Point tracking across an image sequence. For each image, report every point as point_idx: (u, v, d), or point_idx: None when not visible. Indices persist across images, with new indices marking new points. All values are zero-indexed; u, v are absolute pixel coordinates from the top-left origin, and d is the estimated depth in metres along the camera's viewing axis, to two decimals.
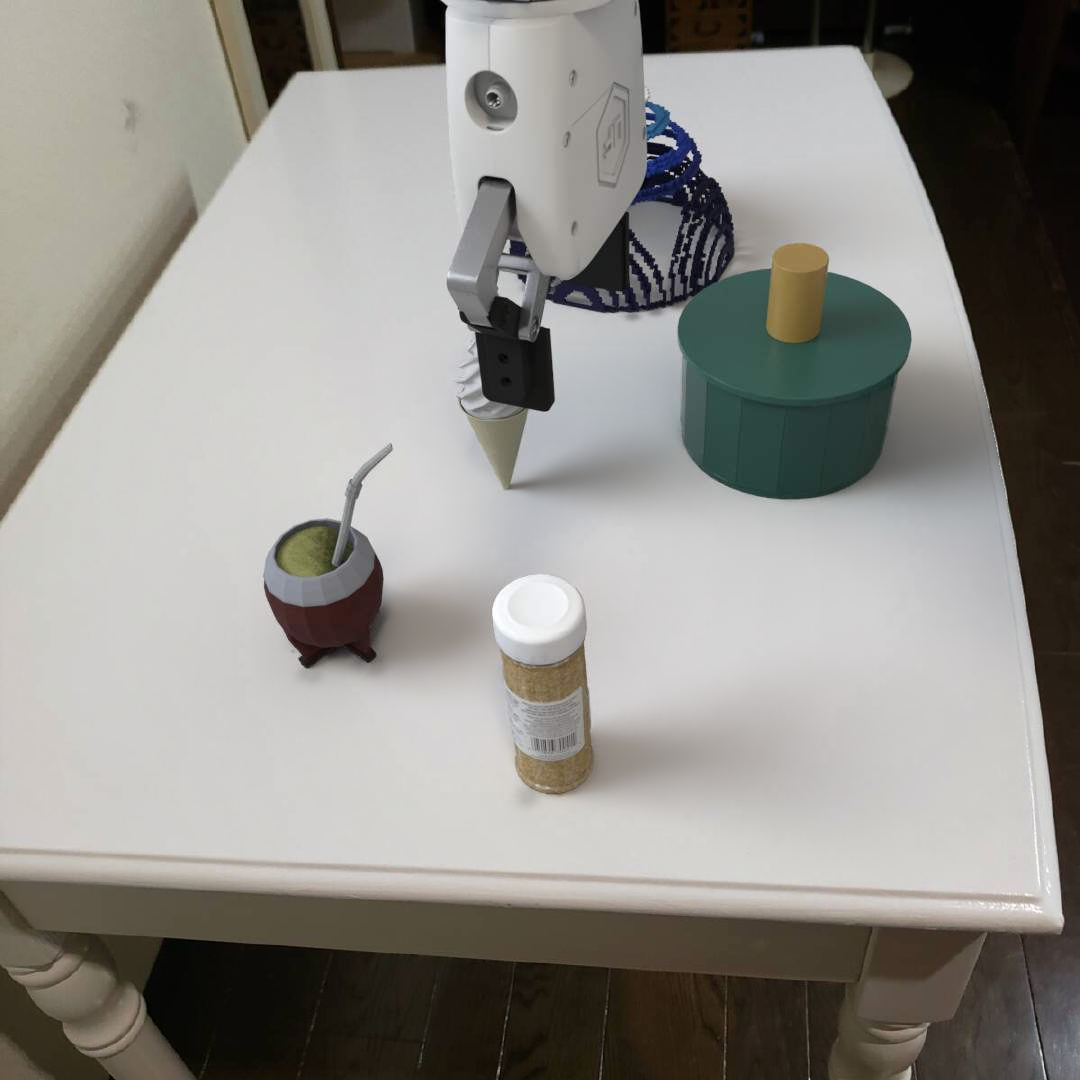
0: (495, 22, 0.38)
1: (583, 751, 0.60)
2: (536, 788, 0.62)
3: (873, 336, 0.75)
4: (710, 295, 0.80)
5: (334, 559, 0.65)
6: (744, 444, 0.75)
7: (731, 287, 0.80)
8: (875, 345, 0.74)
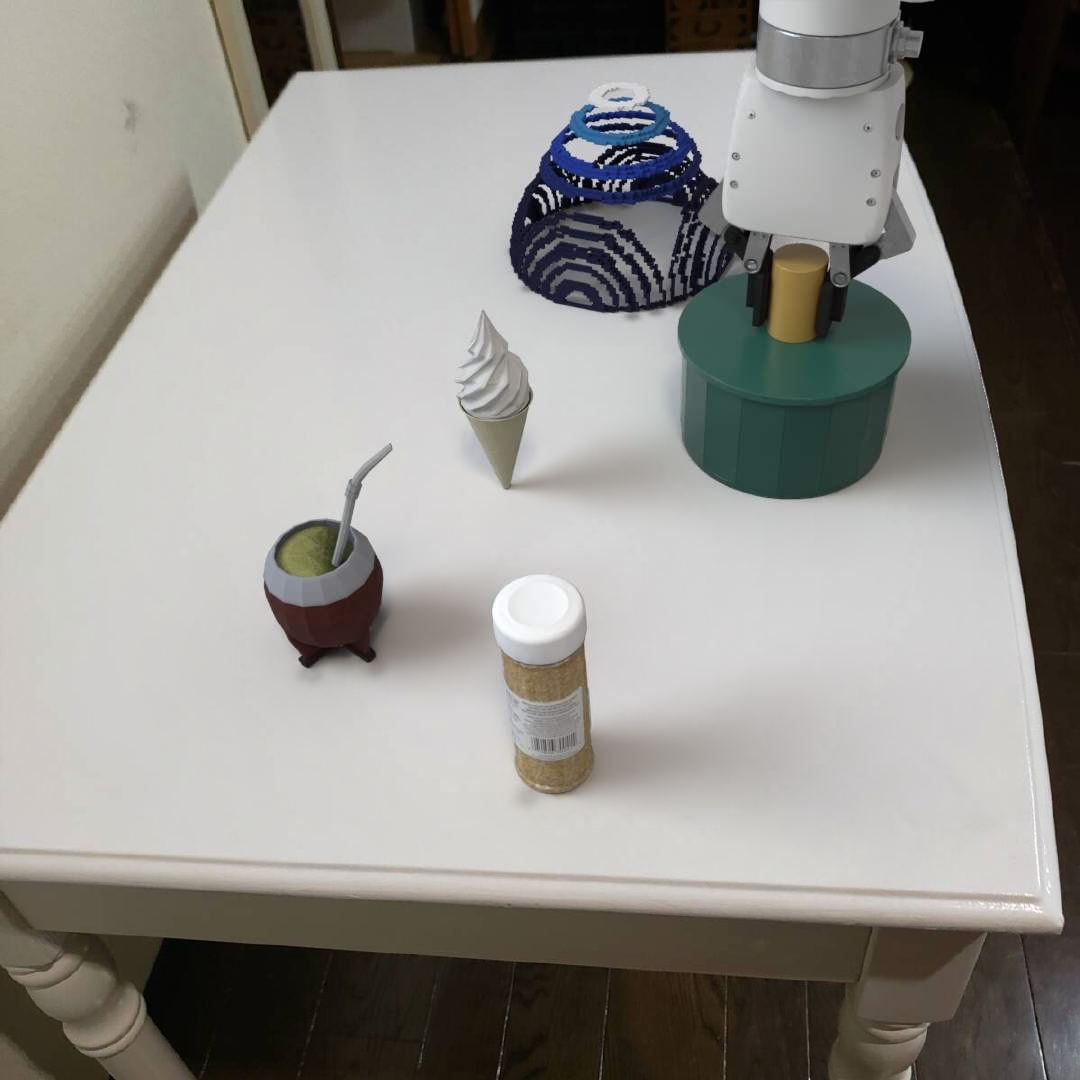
0: (895, 76, 0.63)
1: (583, 751, 0.60)
2: (536, 788, 0.62)
3: (873, 336, 0.75)
4: (710, 295, 0.80)
5: (334, 559, 0.65)
6: (744, 444, 0.75)
7: (731, 287, 0.80)
8: (875, 345, 0.74)
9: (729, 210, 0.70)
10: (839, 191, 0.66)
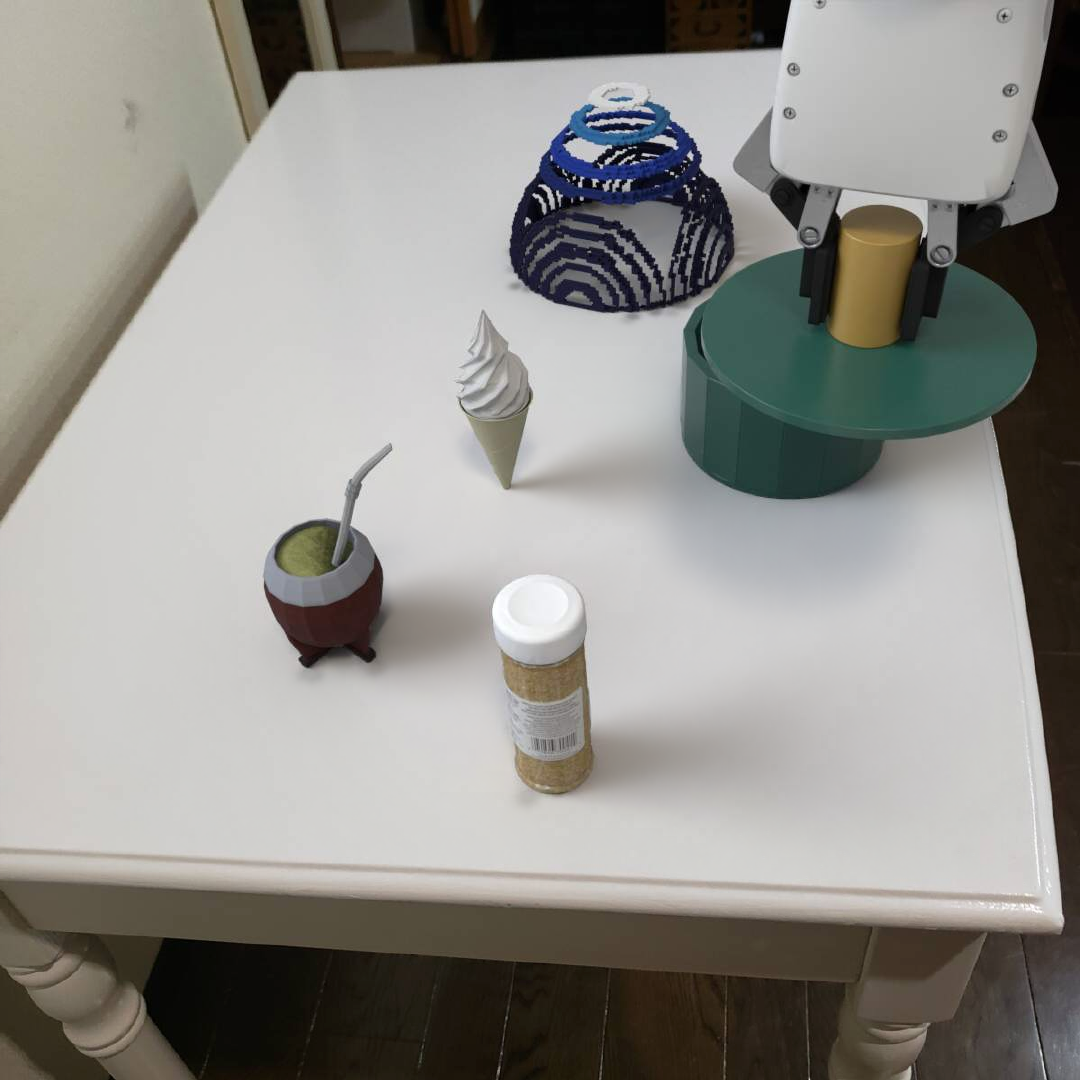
0: None
1: (583, 751, 0.60)
2: (536, 788, 0.62)
3: (981, 338, 0.53)
4: (746, 281, 0.57)
5: (334, 559, 0.65)
6: (744, 444, 0.75)
7: (775, 270, 0.58)
8: (985, 351, 0.52)
9: (781, 153, 0.47)
10: (951, 120, 0.43)
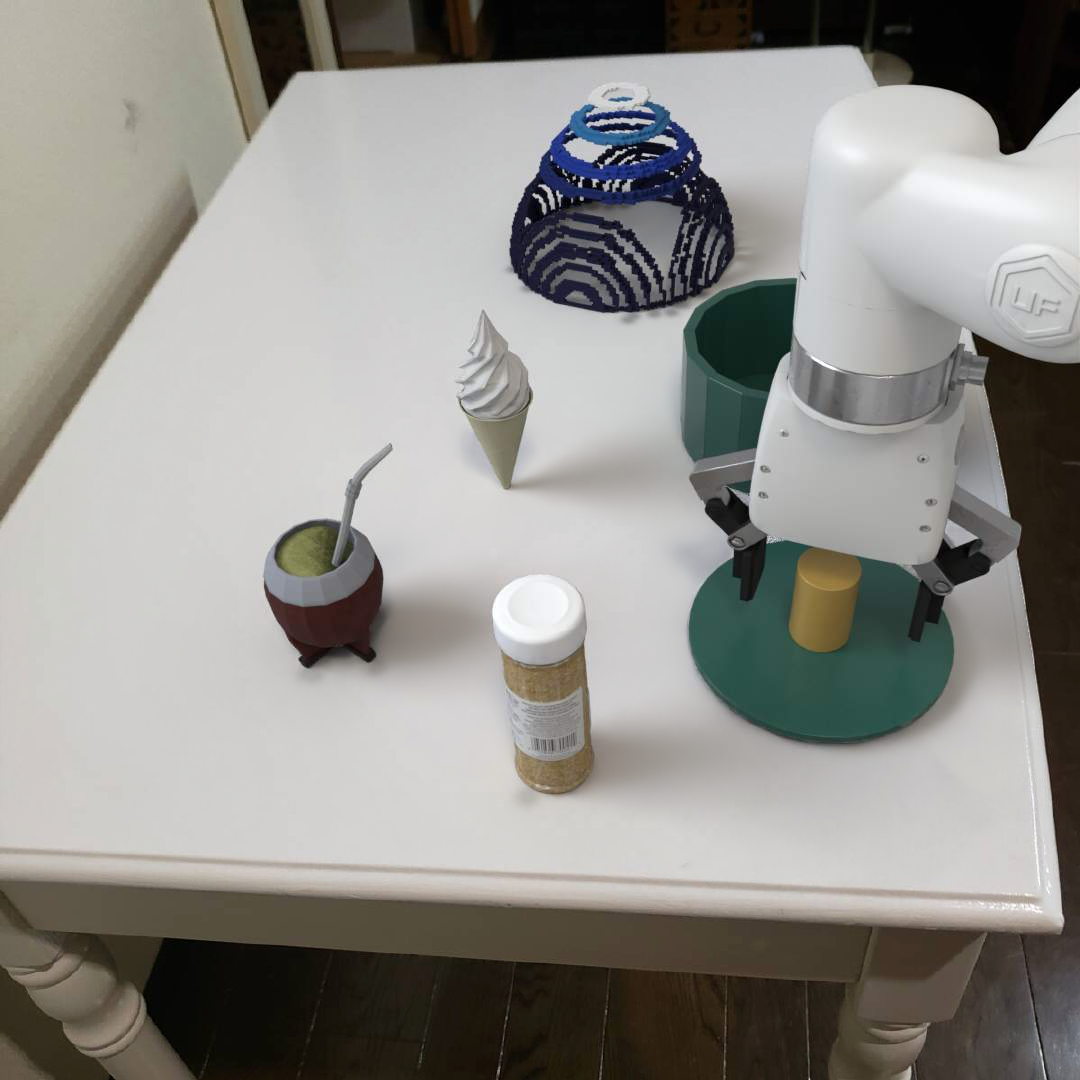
0: (954, 399, 0.53)
1: (583, 751, 0.60)
2: (536, 788, 0.62)
3: (910, 644, 0.66)
4: (725, 577, 0.71)
5: (334, 559, 0.65)
6: (744, 444, 0.75)
7: None
8: (913, 658, 0.65)
9: (758, 518, 0.60)
10: (887, 516, 0.56)
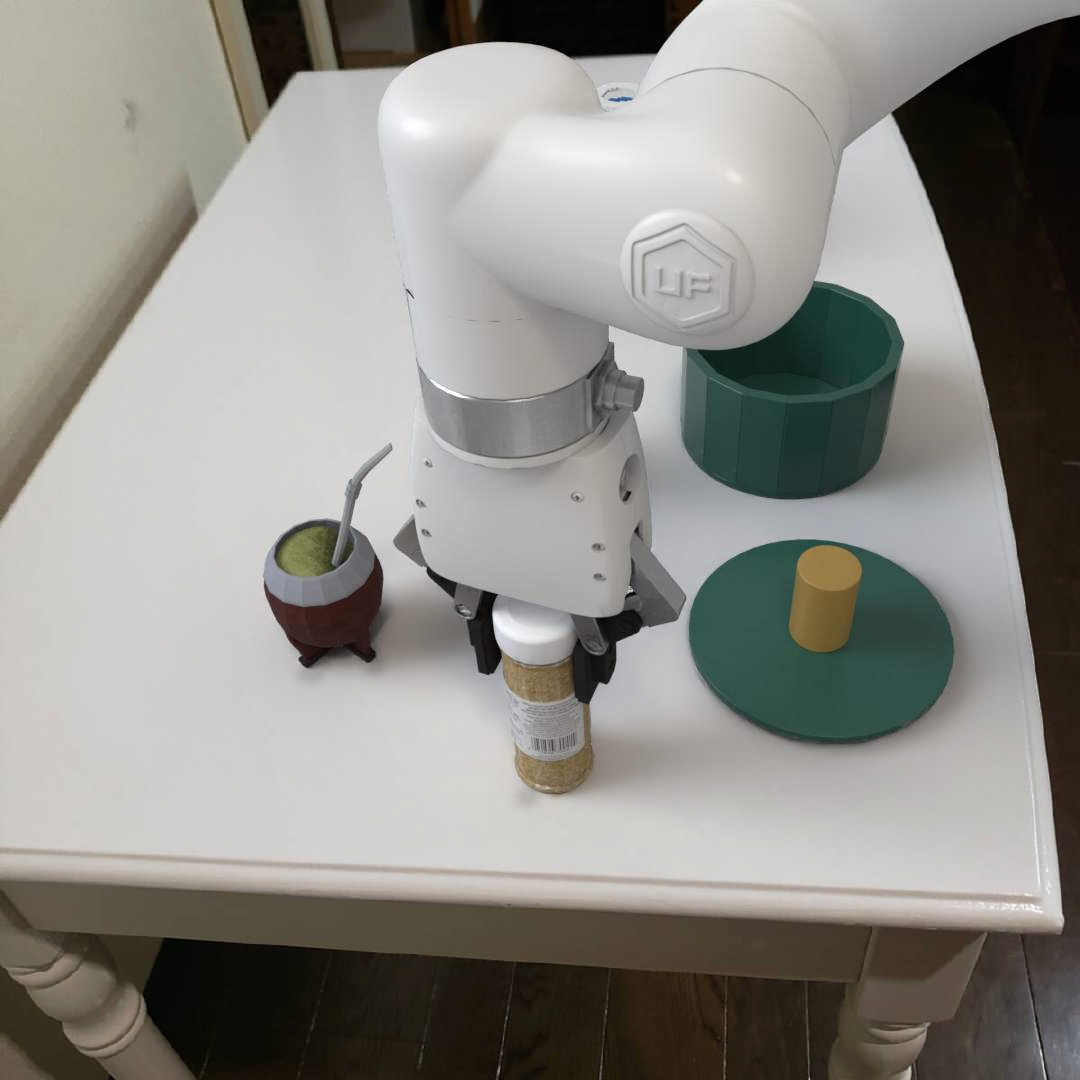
0: (614, 426, 0.44)
1: (583, 751, 0.60)
2: (536, 788, 0.62)
3: (910, 644, 0.66)
4: (725, 577, 0.71)
5: (334, 559, 0.65)
6: (744, 444, 0.75)
7: (748, 566, 0.71)
8: (913, 658, 0.65)
9: (428, 559, 0.51)
10: (556, 562, 0.47)
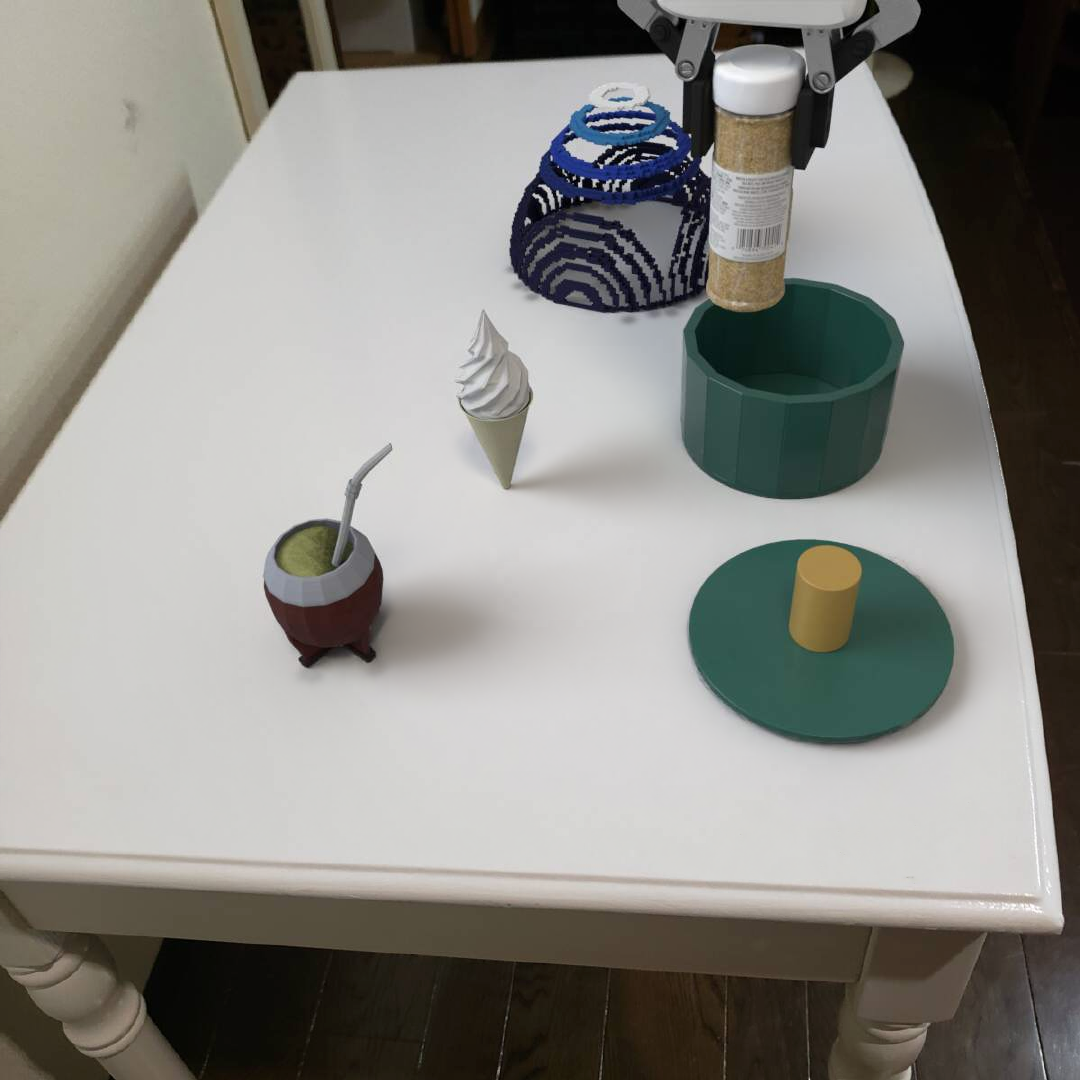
0: None
1: (782, 260, 0.62)
2: (732, 307, 0.63)
3: (910, 644, 0.66)
4: (725, 577, 0.71)
5: (334, 559, 0.65)
6: (744, 444, 0.75)
7: (748, 566, 0.71)
8: (913, 658, 0.65)
9: None
10: None
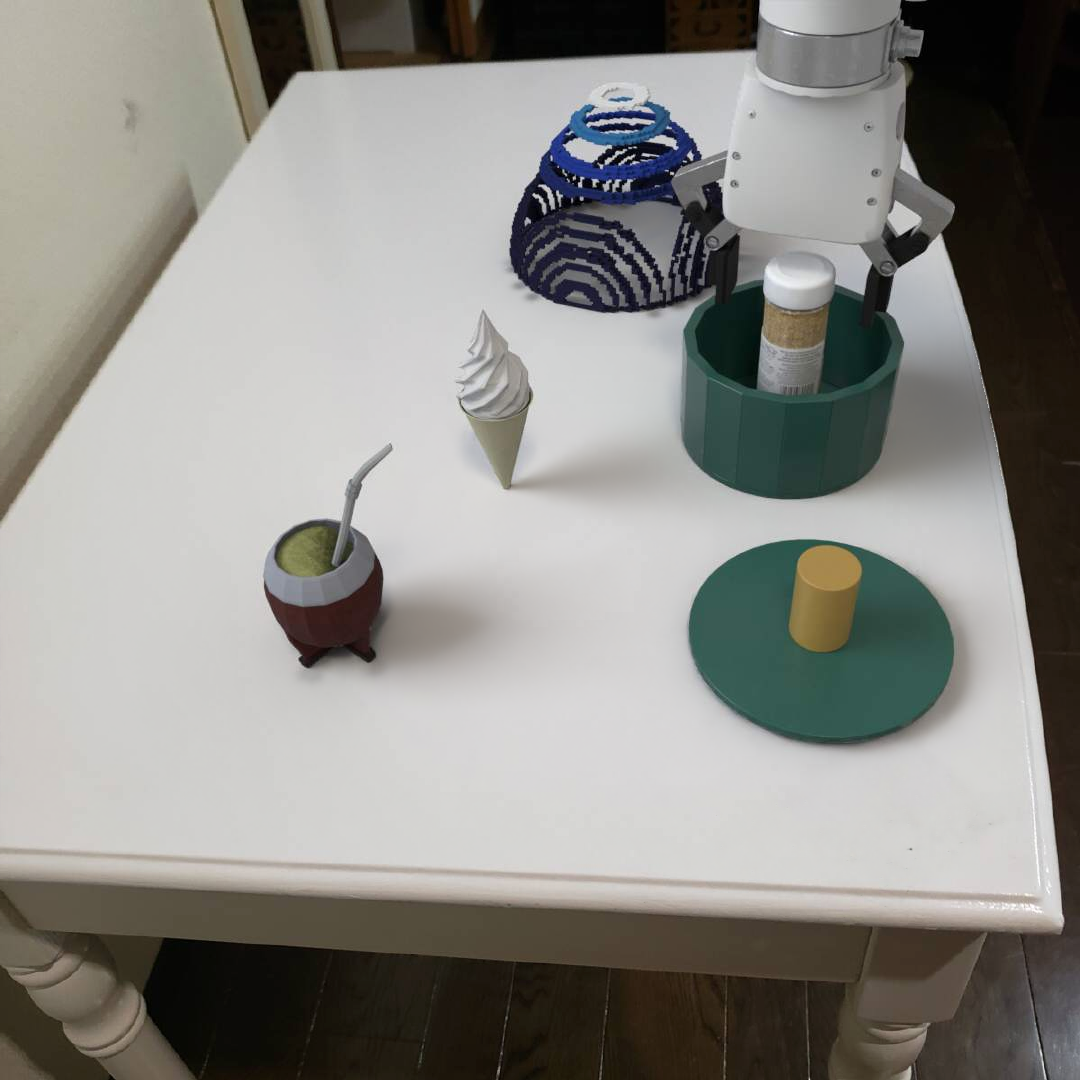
0: (895, 76, 0.62)
1: None
2: None
3: (910, 644, 0.66)
4: (725, 577, 0.71)
5: (334, 559, 0.65)
6: (744, 444, 0.75)
7: (748, 566, 0.71)
8: (913, 658, 0.65)
9: (730, 209, 0.70)
10: (840, 190, 0.66)
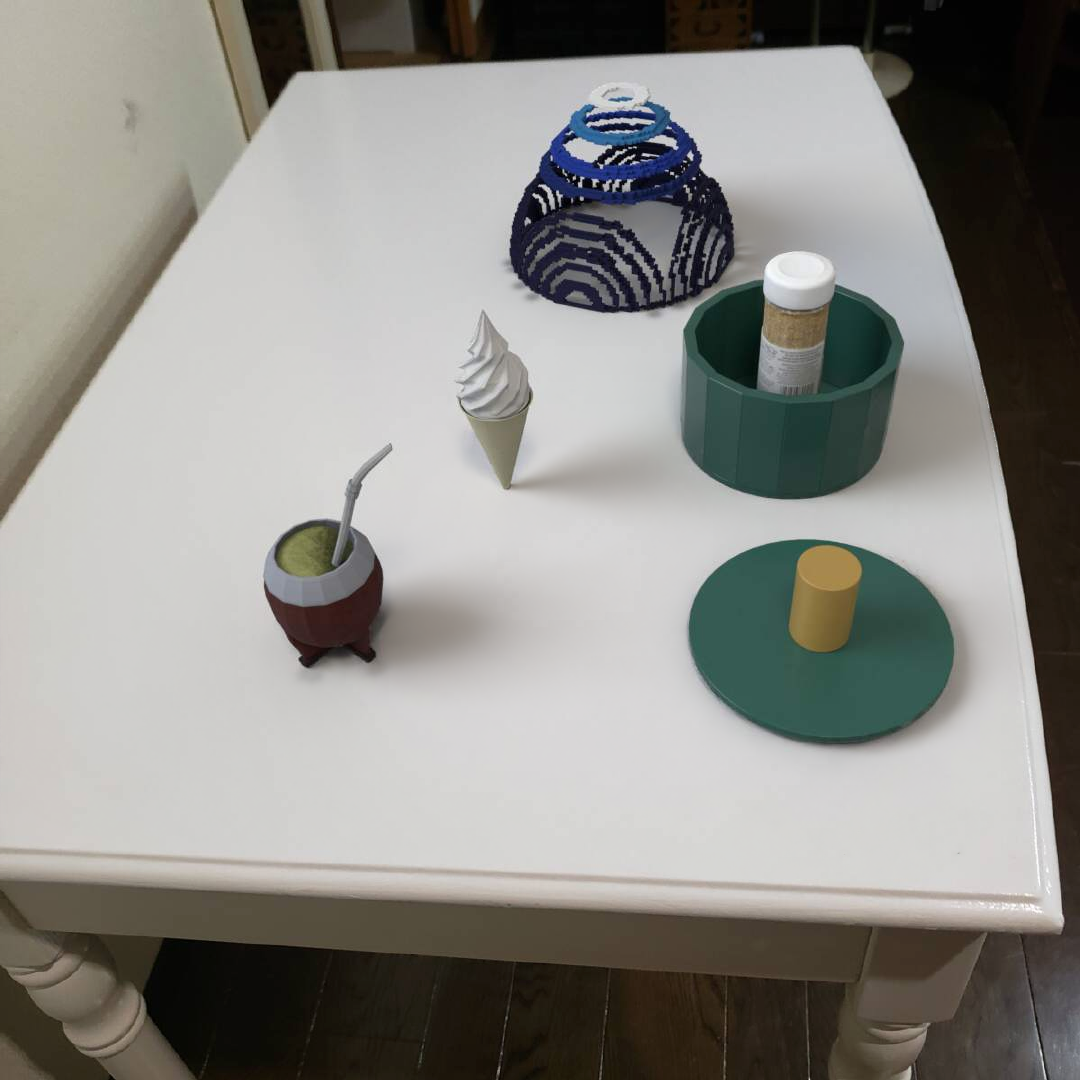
0: None
1: None
2: None
3: (910, 644, 0.66)
4: (725, 577, 0.71)
5: (334, 559, 0.65)
6: (744, 444, 0.75)
7: (748, 566, 0.71)
8: (913, 658, 0.65)
9: None
10: None
